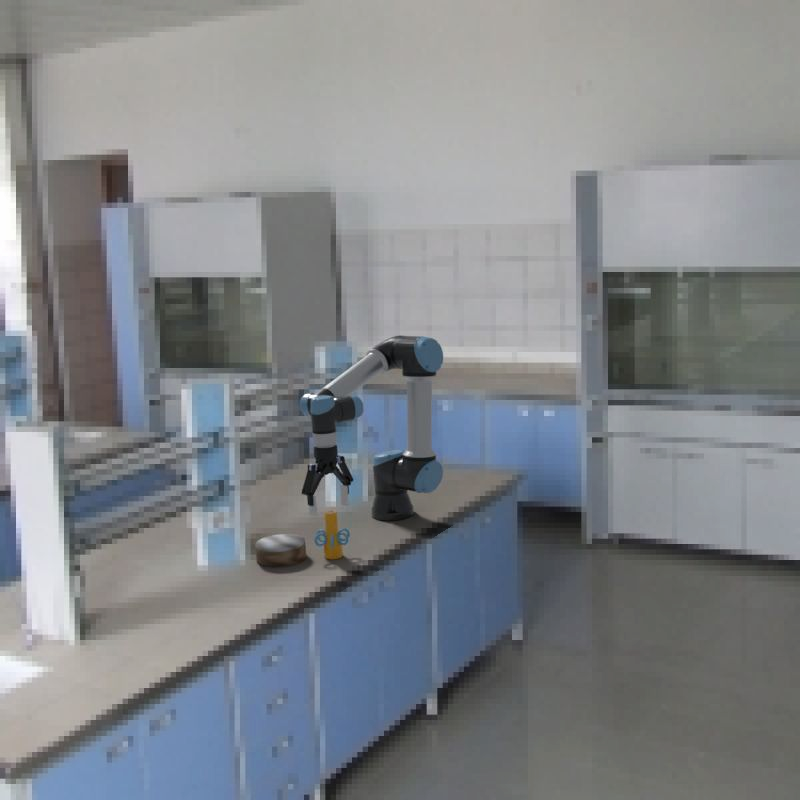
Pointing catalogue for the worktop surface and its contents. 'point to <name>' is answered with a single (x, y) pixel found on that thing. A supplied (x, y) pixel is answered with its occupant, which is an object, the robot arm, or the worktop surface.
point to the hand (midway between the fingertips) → (329, 509)
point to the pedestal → (280, 550)
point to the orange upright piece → (332, 536)
